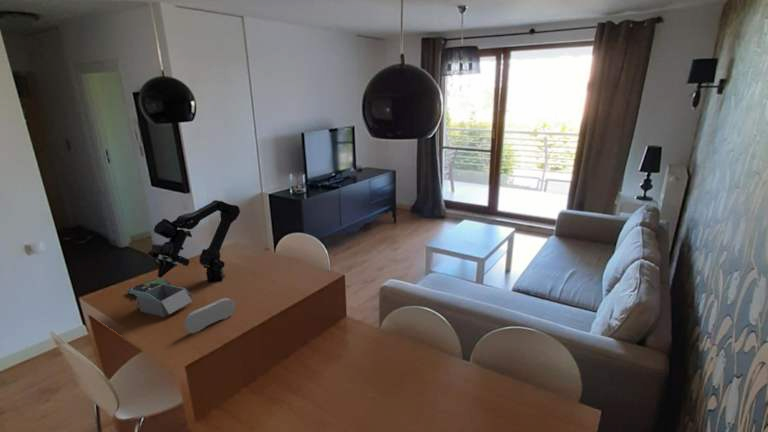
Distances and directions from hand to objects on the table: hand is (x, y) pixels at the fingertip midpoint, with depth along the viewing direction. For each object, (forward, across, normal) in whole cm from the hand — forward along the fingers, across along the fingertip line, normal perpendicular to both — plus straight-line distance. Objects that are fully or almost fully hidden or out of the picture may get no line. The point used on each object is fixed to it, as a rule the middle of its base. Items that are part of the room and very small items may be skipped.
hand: (159, 277), depth 162 cm
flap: (+8, +1, -4) cm, 9 cm away
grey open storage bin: (+10, +2, +9) cm, 13 cm away
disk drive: (+6, -20, +16) cm, 26 cm away
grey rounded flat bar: (+12, +31, +6) cm, 34 cm away
